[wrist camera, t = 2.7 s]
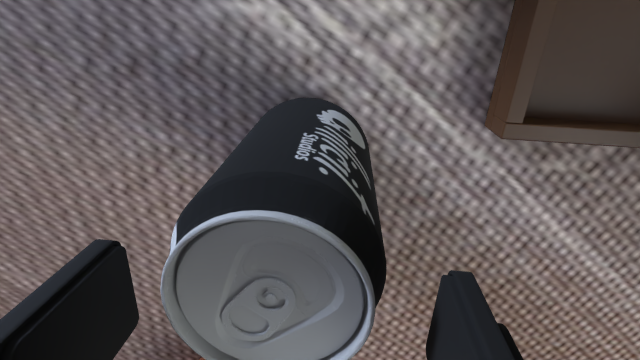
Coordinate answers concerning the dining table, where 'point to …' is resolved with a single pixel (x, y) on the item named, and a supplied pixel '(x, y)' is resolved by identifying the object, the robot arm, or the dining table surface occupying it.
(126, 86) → the dining table surface
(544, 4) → the tray
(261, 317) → the beverage can
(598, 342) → the dining table surface
